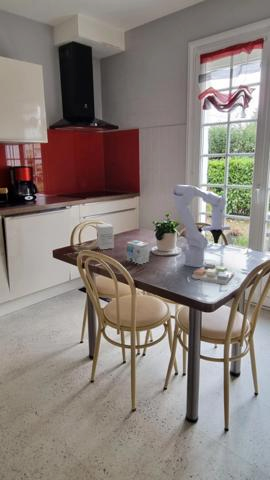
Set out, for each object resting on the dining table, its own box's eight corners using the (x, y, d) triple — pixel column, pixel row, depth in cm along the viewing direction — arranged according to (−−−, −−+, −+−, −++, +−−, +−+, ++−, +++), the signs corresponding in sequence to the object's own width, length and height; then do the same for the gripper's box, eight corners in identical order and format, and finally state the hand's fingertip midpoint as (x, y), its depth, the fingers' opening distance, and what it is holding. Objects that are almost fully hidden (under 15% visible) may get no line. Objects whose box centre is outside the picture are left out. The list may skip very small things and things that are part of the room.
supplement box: (97, 247, 208) (96, 224, 205) (110, 245, 211) (110, 223, 207) (99, 251, 200) (98, 227, 196) (114, 249, 203) (113, 225, 199)
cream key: (205, 274, 152) (205, 271, 151) (208, 271, 155) (208, 268, 155) (214, 275, 150) (214, 272, 149) (216, 272, 153) (216, 269, 153)
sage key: (215, 271, 155) (215, 268, 155) (217, 268, 159) (218, 265, 158) (223, 272, 153) (223, 269, 153) (226, 269, 157) (226, 266, 156)
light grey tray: (192, 278, 154) (192, 275, 154) (201, 269, 165) (201, 267, 165) (226, 284, 146) (226, 281, 146) (233, 275, 157) (233, 272, 157)
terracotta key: (194, 274, 155) (194, 271, 154) (197, 271, 158) (197, 268, 158) (202, 275, 153) (202, 272, 152) (205, 273, 156) (205, 270, 156)
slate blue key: (217, 278, 149) (217, 275, 149) (219, 275, 153) (219, 272, 152) (226, 280, 147) (226, 276, 147) (228, 277, 151) (228, 274, 150)
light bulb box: (126, 261, 181) (126, 242, 178) (135, 258, 185) (135, 239, 183) (140, 265, 173) (140, 245, 171) (149, 262, 178) (149, 243, 175)
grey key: (204, 269, 158) (204, 266, 158) (206, 266, 161) (207, 263, 161) (212, 270, 156) (212, 267, 156) (214, 268, 160) (215, 265, 159)
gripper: (206, 220, 170) (204, 245, 174) (233, 219, 171) (231, 244, 175) (202, 217, 177) (201, 242, 181) (228, 216, 178) (226, 241, 182)
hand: (215, 243), depth 178 cm, fingers closed
